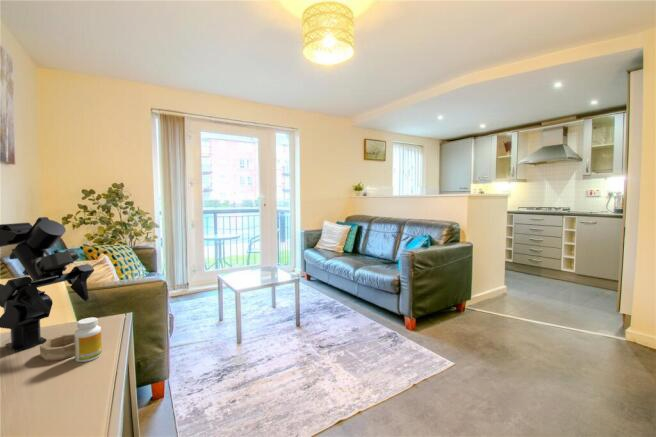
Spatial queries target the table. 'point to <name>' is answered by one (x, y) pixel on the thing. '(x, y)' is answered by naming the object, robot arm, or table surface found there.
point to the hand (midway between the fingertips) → (68, 305)
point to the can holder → (58, 348)
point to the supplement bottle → (87, 340)
